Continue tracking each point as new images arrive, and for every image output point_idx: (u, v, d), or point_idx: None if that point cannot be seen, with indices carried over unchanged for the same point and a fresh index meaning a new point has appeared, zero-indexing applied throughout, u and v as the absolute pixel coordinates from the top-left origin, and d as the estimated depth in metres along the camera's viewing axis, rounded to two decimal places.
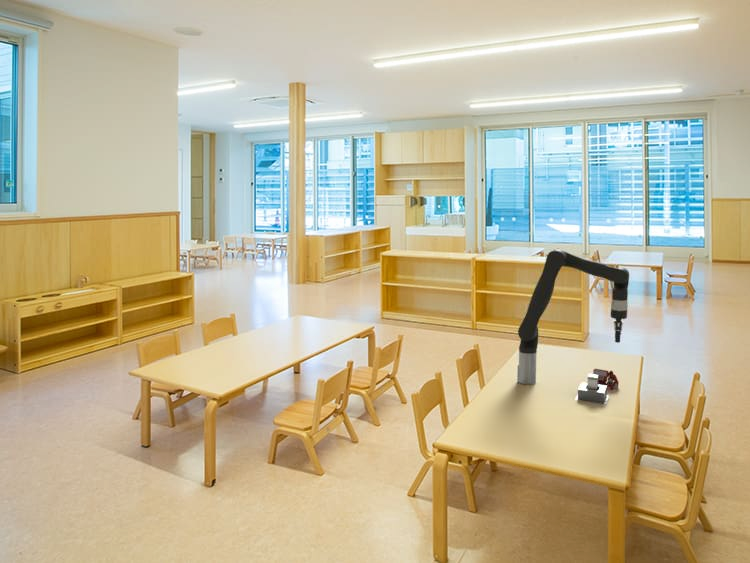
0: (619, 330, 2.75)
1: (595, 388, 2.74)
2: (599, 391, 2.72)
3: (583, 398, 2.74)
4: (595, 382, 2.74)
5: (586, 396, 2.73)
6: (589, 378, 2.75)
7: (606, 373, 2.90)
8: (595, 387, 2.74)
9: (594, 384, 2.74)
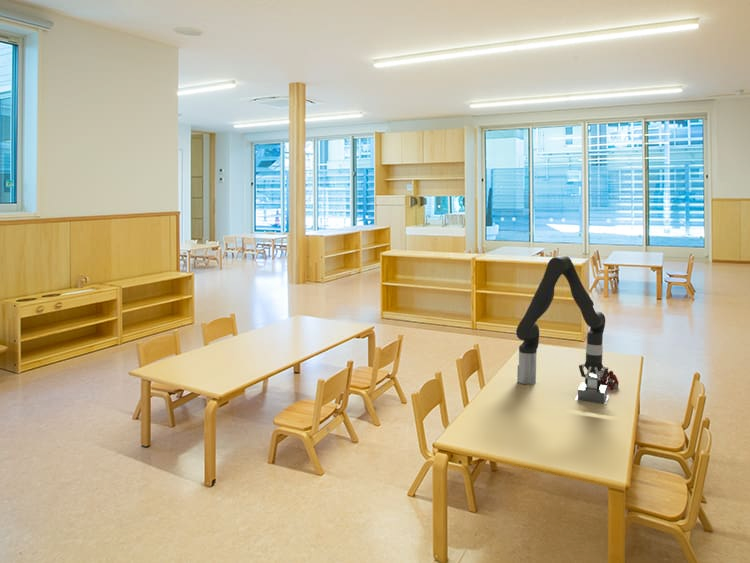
0: None
1: (595, 388, 2.74)
2: (599, 391, 2.72)
3: (583, 398, 2.74)
4: (595, 382, 2.74)
5: (586, 396, 2.73)
6: (589, 378, 2.75)
7: None
8: (595, 387, 2.74)
9: (594, 384, 2.74)
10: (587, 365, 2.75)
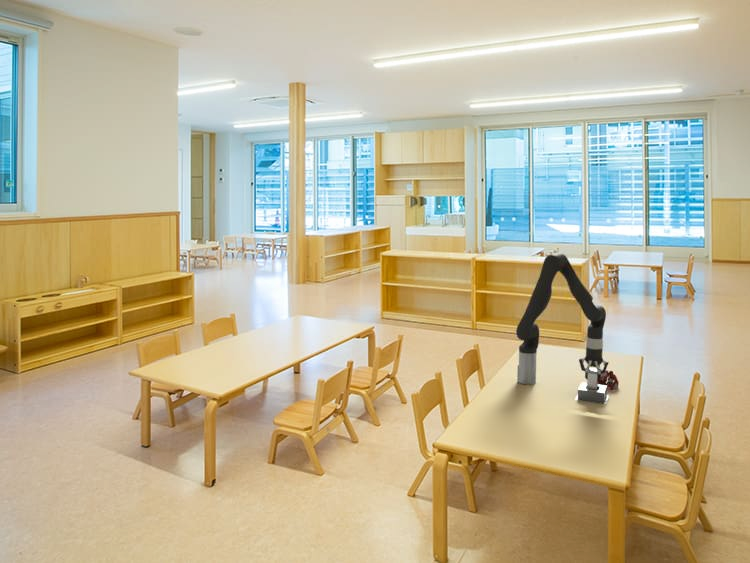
0: None
1: (595, 382, 2.74)
2: (599, 391, 2.72)
3: (583, 398, 2.74)
4: (595, 376, 2.73)
5: (586, 396, 2.73)
6: (589, 372, 2.74)
7: (606, 373, 2.90)
8: (595, 381, 2.74)
9: (594, 378, 2.74)
10: (587, 359, 2.75)
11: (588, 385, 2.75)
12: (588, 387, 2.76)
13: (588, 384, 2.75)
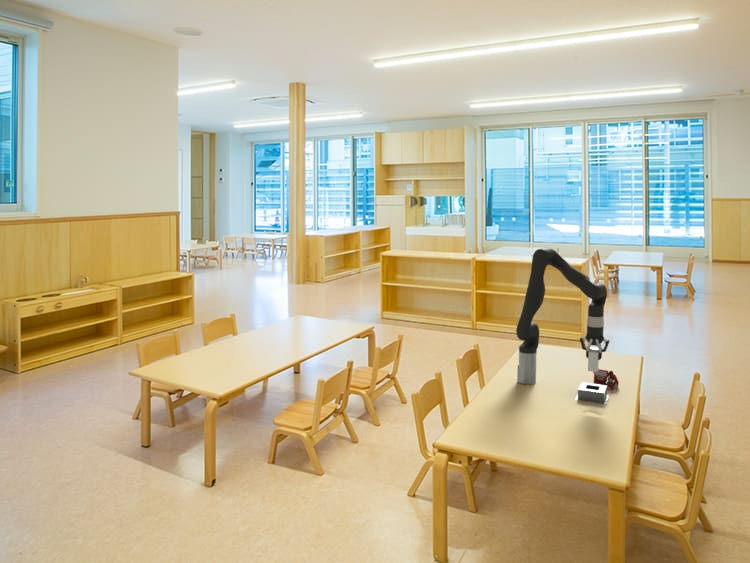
0: None
1: (596, 361, 2.72)
2: (599, 391, 2.72)
3: (583, 398, 2.74)
4: (596, 354, 2.71)
5: (586, 396, 2.73)
6: (590, 351, 2.73)
7: (606, 373, 2.90)
8: (596, 360, 2.72)
9: (595, 357, 2.72)
10: (588, 338, 2.73)
11: (589, 364, 2.74)
12: (589, 366, 2.74)
13: (589, 363, 2.74)
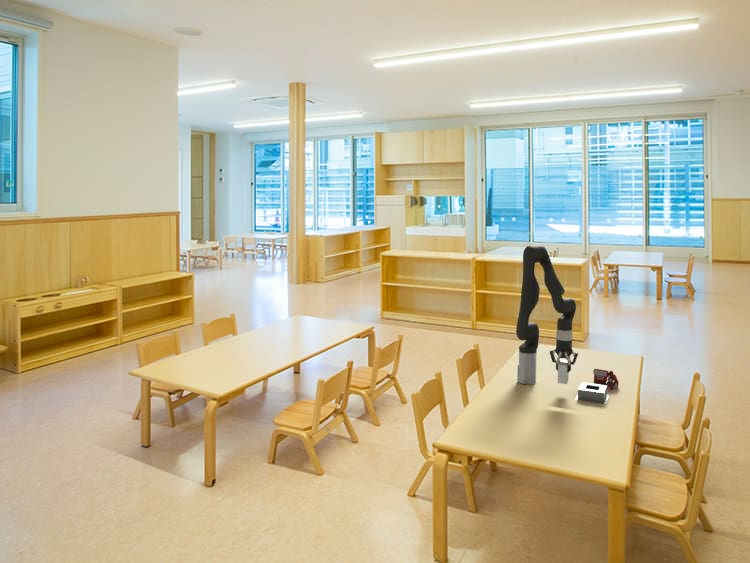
0: (569, 359, 2.80)
1: (565, 373, 2.79)
2: (599, 391, 2.72)
3: (583, 398, 2.74)
4: (565, 367, 2.78)
5: (586, 396, 2.73)
6: (559, 363, 2.79)
7: (606, 373, 2.90)
8: (565, 372, 2.79)
9: (564, 369, 2.79)
10: (557, 350, 2.80)
11: (559, 376, 2.80)
12: (559, 378, 2.81)
13: (558, 375, 2.80)
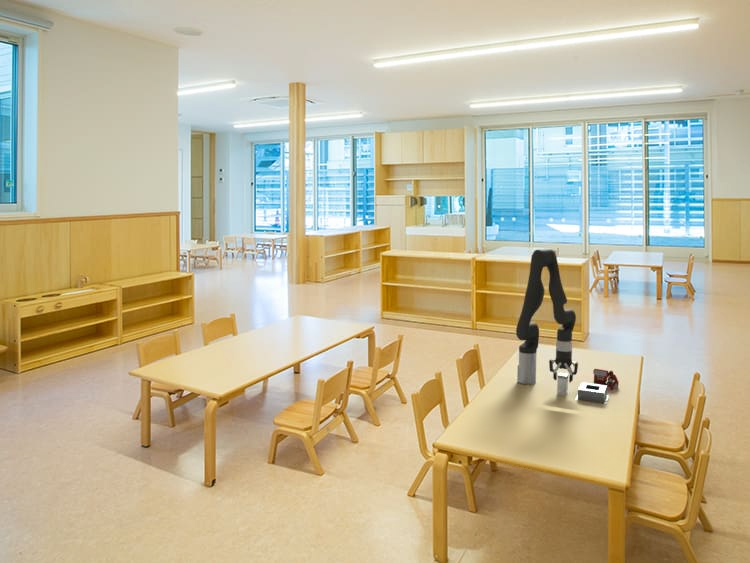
0: None
1: (565, 386, 2.80)
2: (599, 391, 2.72)
3: (583, 398, 2.74)
4: (565, 380, 2.79)
5: (586, 396, 2.73)
6: (559, 377, 2.80)
7: (606, 373, 2.90)
8: (565, 385, 2.80)
9: (564, 383, 2.80)
10: (557, 361, 2.81)
11: (558, 389, 2.82)
12: (558, 391, 2.82)
13: (558, 388, 2.82)
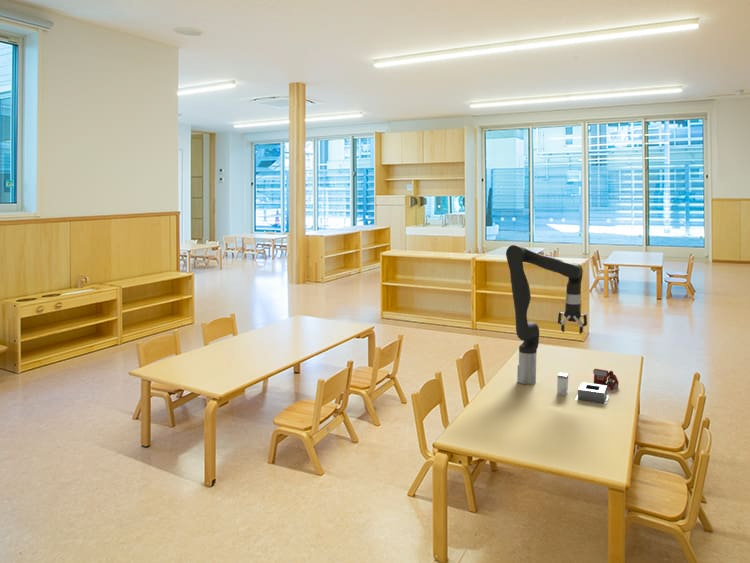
0: None
1: (565, 386, 2.80)
2: (599, 391, 2.72)
3: (583, 398, 2.74)
4: (565, 380, 2.79)
5: (586, 396, 2.73)
6: (559, 377, 2.80)
7: (606, 373, 2.90)
8: (565, 385, 2.80)
9: (564, 383, 2.80)
10: (566, 314, 2.92)
11: (558, 389, 2.82)
12: (558, 391, 2.82)
13: (558, 388, 2.82)
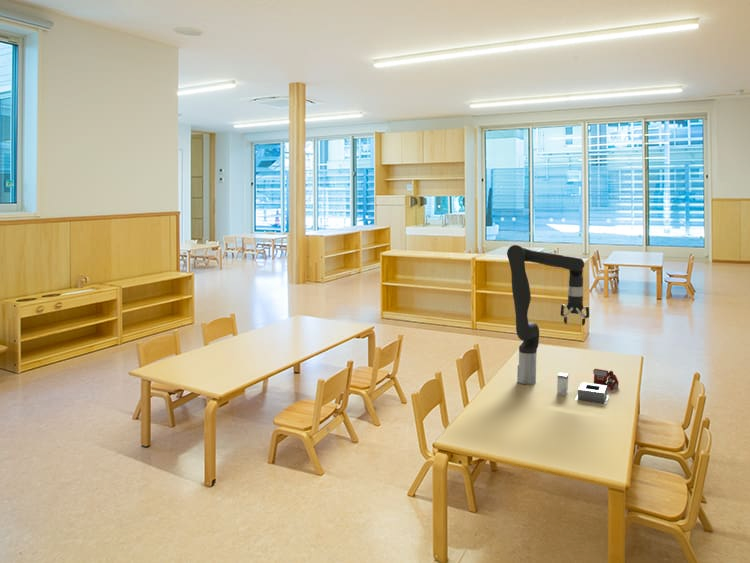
0: None
1: (565, 386, 2.80)
2: (599, 391, 2.72)
3: (583, 398, 2.74)
4: (565, 380, 2.79)
5: (586, 396, 2.73)
6: (559, 377, 2.80)
7: (606, 373, 2.90)
8: (565, 385, 2.80)
9: (564, 383, 2.80)
10: (569, 307, 2.98)
11: (558, 389, 2.82)
12: (558, 391, 2.82)
13: (558, 388, 2.82)
